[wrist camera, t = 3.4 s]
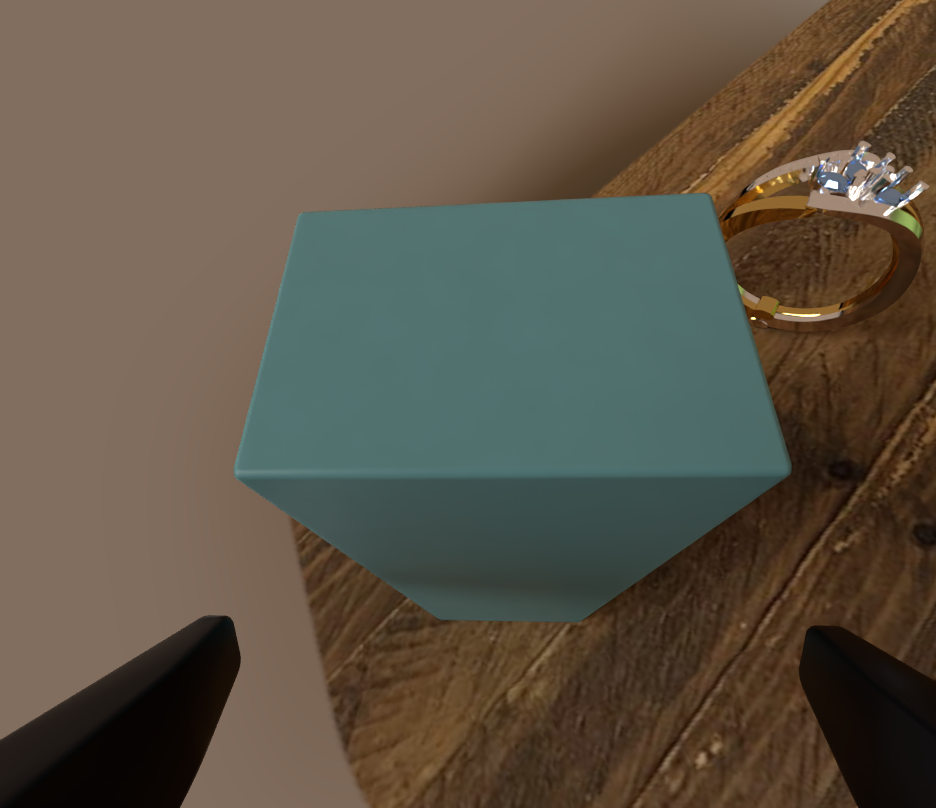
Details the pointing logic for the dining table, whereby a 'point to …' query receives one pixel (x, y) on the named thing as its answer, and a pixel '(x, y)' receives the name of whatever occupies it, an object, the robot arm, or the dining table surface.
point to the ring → (843, 196)
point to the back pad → (512, 397)
